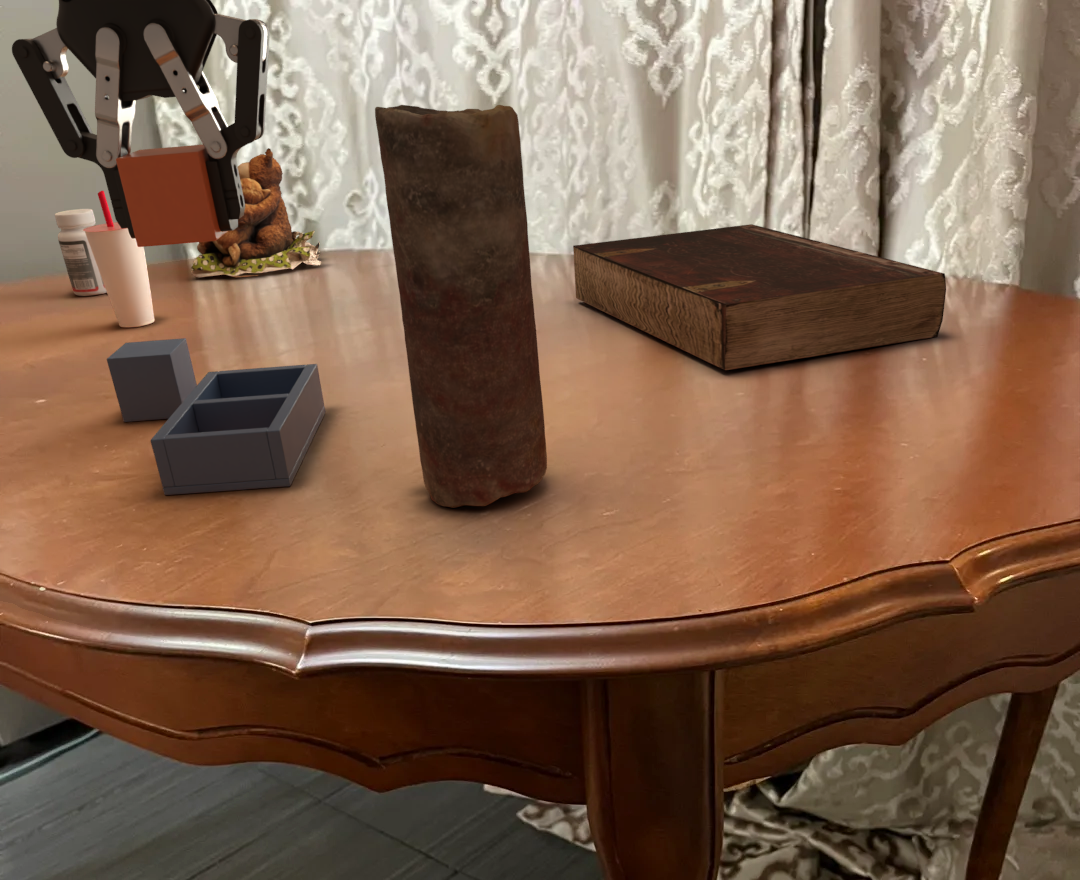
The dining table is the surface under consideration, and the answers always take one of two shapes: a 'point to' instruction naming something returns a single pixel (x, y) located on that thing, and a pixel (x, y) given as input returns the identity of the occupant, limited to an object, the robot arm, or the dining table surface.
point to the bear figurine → (257, 229)
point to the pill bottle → (79, 252)
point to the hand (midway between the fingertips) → (185, 231)
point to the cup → (121, 270)
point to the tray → (240, 430)
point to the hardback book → (758, 294)
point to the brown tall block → (465, 298)
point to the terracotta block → (169, 195)
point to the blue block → (151, 378)
